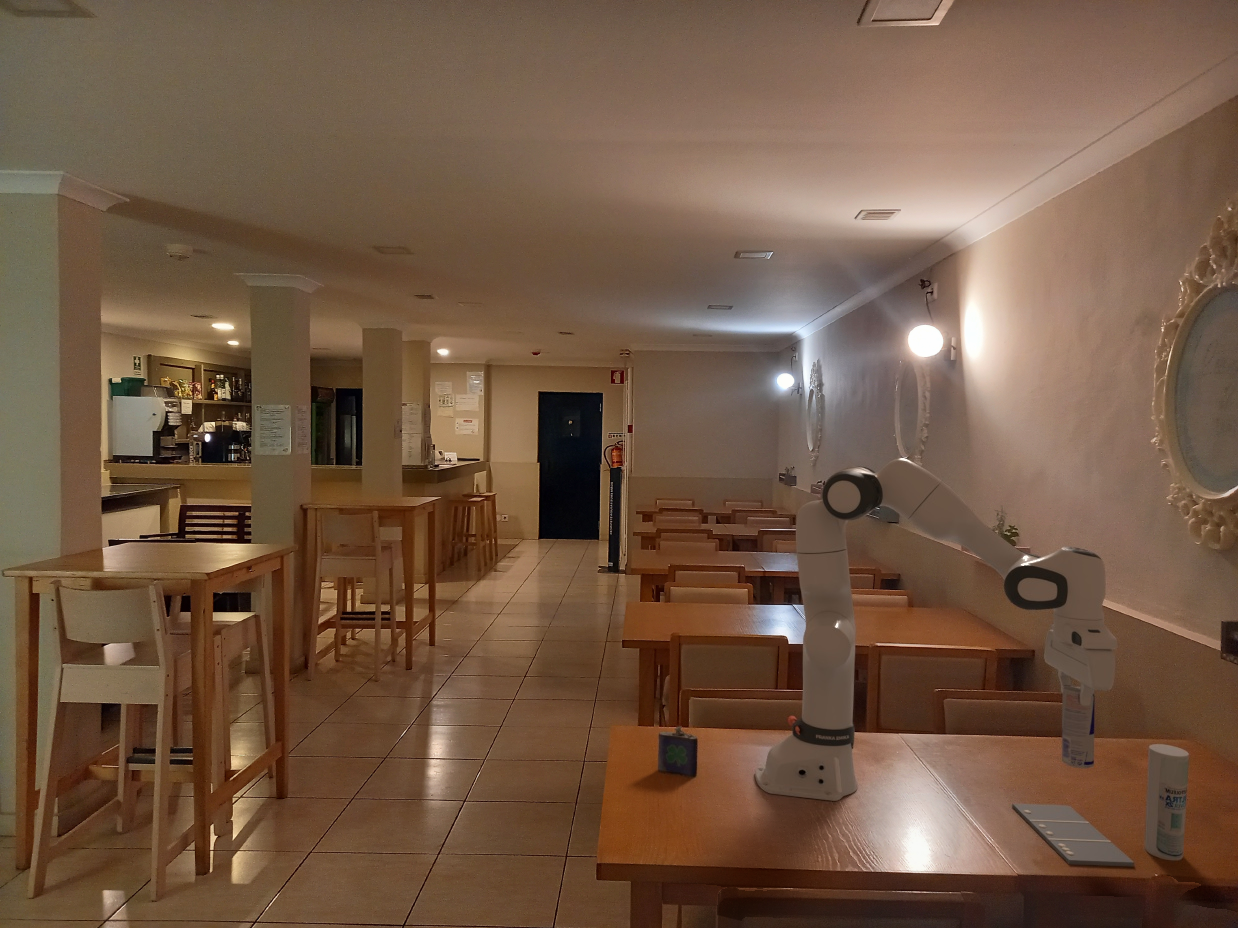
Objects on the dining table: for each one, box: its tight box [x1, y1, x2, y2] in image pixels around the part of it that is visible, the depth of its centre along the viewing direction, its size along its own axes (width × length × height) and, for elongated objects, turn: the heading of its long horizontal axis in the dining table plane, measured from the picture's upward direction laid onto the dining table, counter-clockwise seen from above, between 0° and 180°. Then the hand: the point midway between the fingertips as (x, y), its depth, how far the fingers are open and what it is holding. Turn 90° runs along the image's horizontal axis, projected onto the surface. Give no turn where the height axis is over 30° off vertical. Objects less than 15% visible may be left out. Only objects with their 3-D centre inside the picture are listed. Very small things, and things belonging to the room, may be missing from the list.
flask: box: [657, 725, 699, 778], centre depth 196 cm, size 9×3×11 cm, turn 71°
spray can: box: [1144, 743, 1190, 861], centre depth 164 cm, size 6×6×20 cm
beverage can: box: [1061, 685, 1096, 769], centre depth 169 cm, size 6×6×15 cm
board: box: [1011, 803, 1135, 868], centre depth 170 cm, size 12×24×1 cm, turn 179°
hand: (1075, 699), depth 169 cm, fingers closed on beverage can, 5 cm apart
